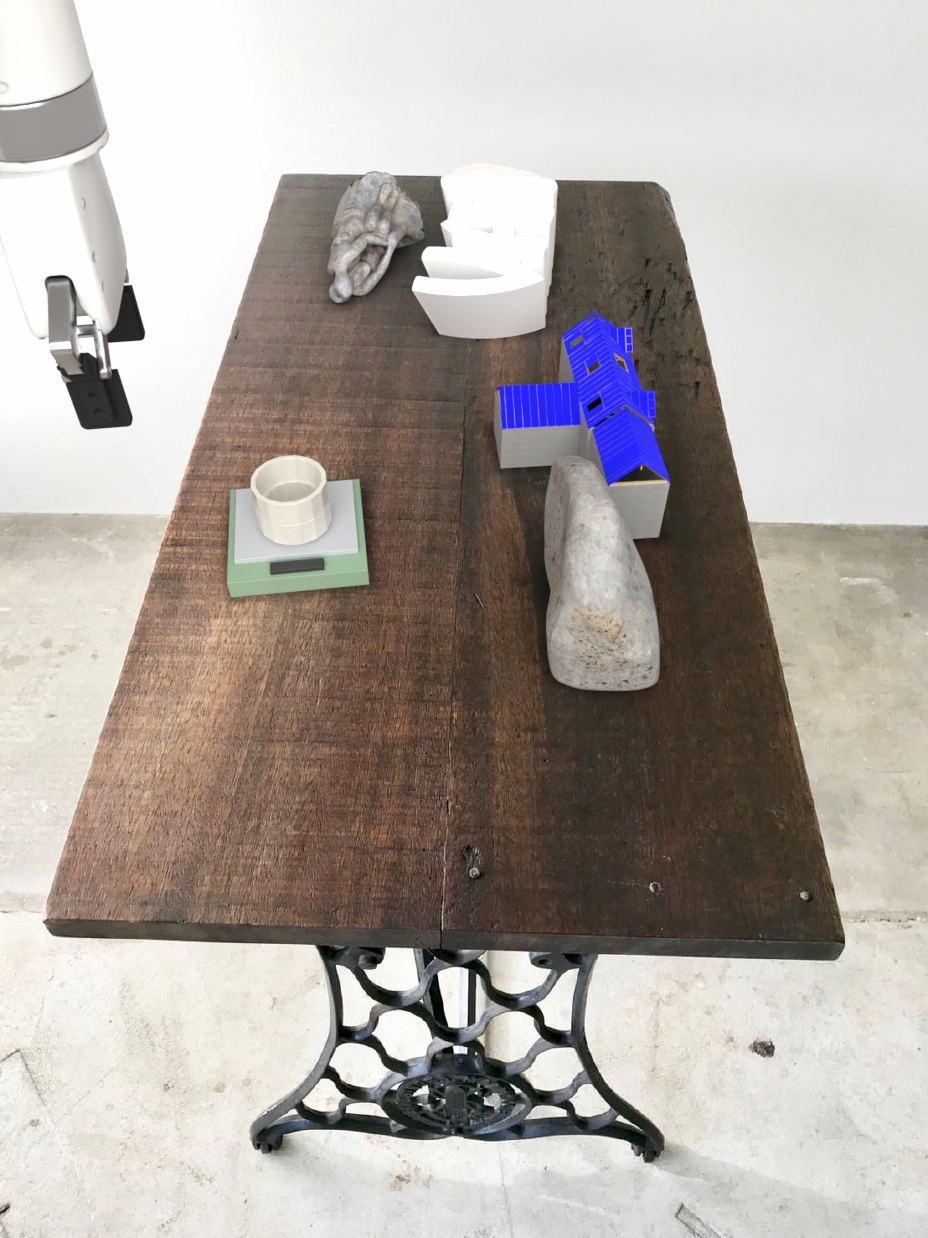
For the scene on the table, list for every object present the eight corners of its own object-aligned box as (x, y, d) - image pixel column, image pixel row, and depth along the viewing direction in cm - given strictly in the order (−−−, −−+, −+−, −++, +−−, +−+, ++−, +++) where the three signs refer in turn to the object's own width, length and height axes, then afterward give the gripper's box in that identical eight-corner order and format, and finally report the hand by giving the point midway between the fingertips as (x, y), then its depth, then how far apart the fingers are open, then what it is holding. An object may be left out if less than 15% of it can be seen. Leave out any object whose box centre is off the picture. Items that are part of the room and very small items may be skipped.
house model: (664, 536, 96) (681, 458, 88) (514, 546, 95) (518, 467, 88) (616, 386, 112) (627, 309, 105) (487, 393, 111) (489, 316, 104)
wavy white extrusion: (535, 368, 114) (541, 287, 107) (400, 353, 116) (395, 272, 108) (568, 226, 137) (575, 150, 129) (454, 215, 139) (454, 140, 131)
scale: (230, 597, 91) (225, 578, 89) (233, 504, 99) (229, 485, 97) (369, 584, 92) (367, 565, 90) (360, 493, 100) (358, 474, 98)
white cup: (259, 552, 91) (250, 507, 87) (260, 502, 95) (251, 458, 91) (333, 545, 91) (327, 501, 87) (330, 496, 96) (324, 452, 92)
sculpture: (379, 347, 126) (294, 310, 124) (416, 258, 135) (337, 222, 133) (401, 287, 117) (309, 246, 115) (439, 195, 126) (354, 155, 124)
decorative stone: (661, 710, 82) (544, 714, 82) (625, 544, 95) (524, 548, 95) (697, 577, 70) (559, 582, 69) (650, 407, 82) (533, 410, 82)
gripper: (-11, 58, 58) (75, 314, 71) (-78, 193, 46) (39, 468, 59) (117, 52, 58) (180, 307, 71) (82, 184, 47) (163, 458, 60)
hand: (116, 380), depth 65 cm, fingers open, 9 cm apart
